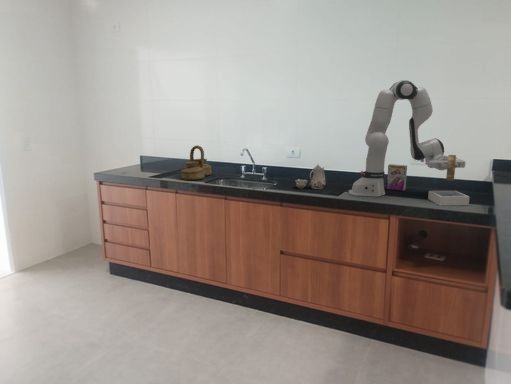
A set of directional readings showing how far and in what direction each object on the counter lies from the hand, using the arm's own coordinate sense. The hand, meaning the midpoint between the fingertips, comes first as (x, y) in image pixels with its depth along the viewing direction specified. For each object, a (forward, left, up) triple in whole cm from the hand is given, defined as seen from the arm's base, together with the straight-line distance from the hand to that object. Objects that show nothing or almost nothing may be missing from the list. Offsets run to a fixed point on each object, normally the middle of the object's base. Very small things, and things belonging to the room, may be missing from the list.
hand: (452, 166), depth 232 cm
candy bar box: (-18, +37, -21) cm, 46 cm away
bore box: (0, +1, -21) cm, 21 cm away
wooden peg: (0, +1, -8) cm, 8 cm away
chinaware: (-71, +47, -21) cm, 87 cm away
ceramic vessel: (-157, +88, -21) cm, 182 cm away
